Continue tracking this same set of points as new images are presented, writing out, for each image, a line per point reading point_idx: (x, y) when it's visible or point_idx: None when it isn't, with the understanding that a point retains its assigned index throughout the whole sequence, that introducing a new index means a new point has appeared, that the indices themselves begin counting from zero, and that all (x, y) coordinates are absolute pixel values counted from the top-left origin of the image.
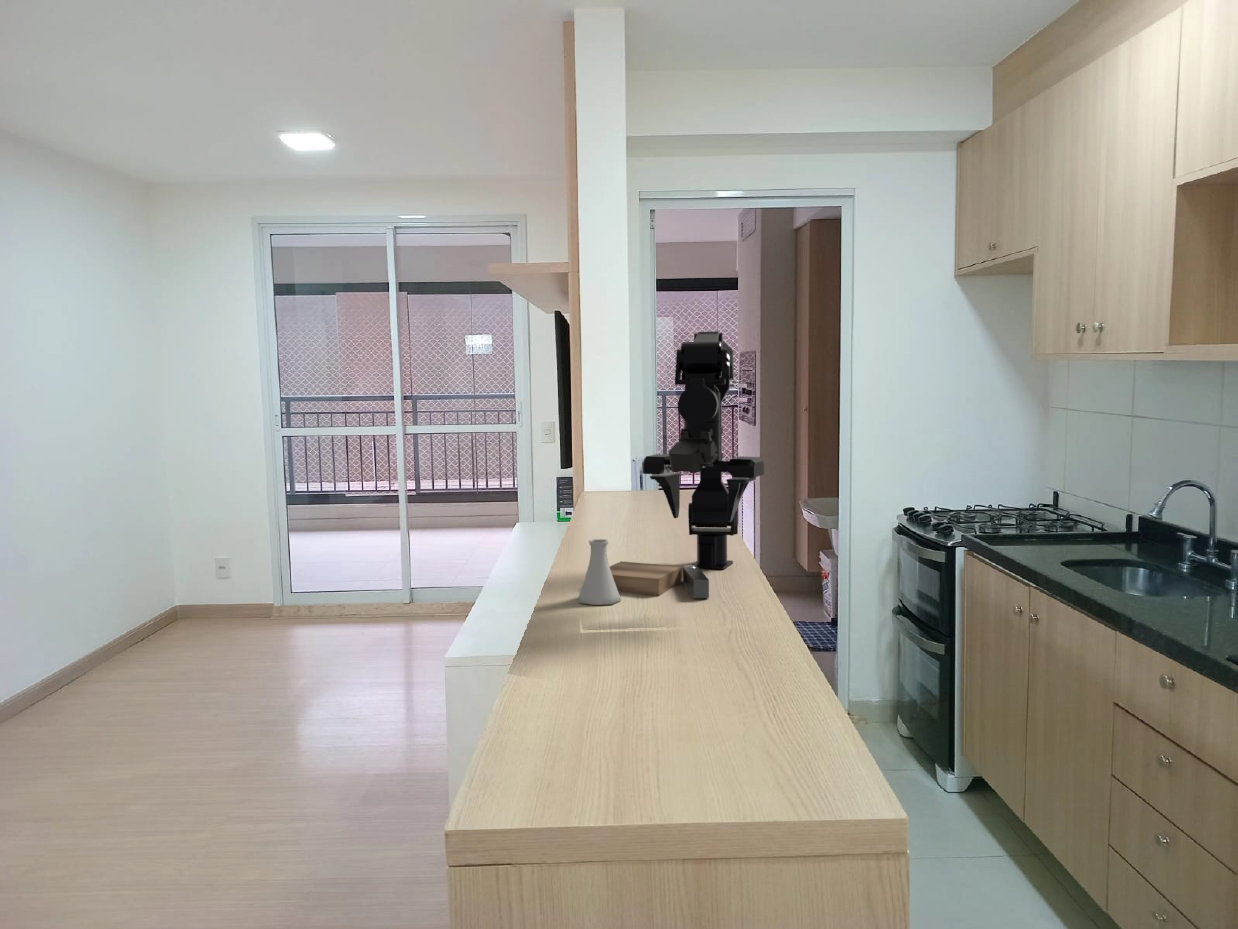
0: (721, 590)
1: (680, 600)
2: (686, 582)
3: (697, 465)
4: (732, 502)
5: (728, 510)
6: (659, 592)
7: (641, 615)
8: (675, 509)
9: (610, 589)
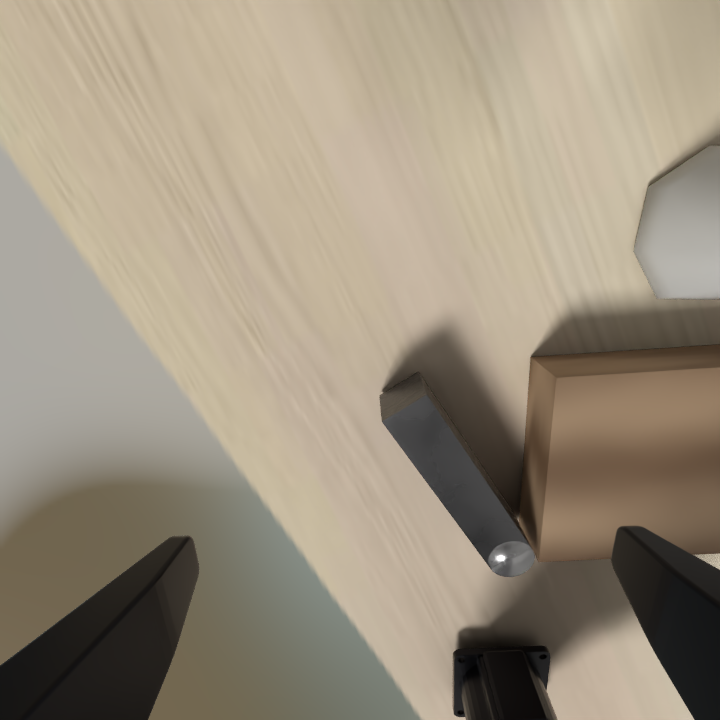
0: (387, 494)
1: (453, 348)
2: (488, 478)
3: None
4: (7, 675)
5: (126, 598)
6: (535, 365)
7: (502, 109)
8: (671, 580)
9: (696, 201)
